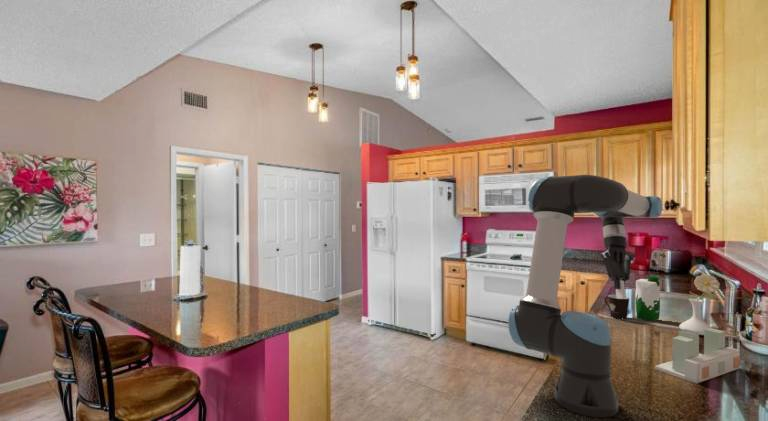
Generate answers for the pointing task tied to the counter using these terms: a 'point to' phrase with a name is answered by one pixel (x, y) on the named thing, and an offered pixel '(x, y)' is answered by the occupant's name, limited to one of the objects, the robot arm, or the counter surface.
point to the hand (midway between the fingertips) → (621, 298)
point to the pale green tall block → (681, 352)
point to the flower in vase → (700, 303)
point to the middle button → (693, 336)
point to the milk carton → (648, 298)
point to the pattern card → (719, 366)
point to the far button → (713, 340)
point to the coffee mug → (618, 306)
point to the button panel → (695, 364)
